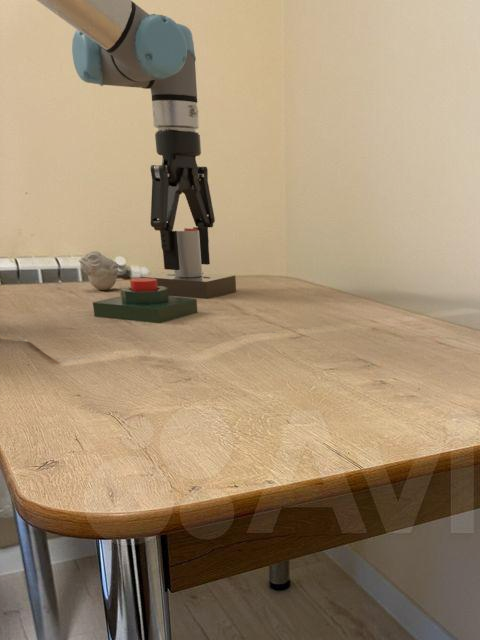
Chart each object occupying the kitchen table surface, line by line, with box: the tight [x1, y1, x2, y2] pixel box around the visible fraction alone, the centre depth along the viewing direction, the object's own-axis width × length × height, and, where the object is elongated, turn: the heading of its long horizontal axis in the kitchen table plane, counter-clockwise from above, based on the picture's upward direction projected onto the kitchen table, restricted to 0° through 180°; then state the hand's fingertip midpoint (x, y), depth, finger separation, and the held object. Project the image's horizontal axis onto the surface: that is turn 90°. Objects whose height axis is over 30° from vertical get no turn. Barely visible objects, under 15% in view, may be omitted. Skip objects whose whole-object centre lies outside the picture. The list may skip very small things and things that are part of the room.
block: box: [92, 285, 199, 324], centre depth 110 cm, size 12×10×4 cm
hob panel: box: [139, 270, 237, 300], centre depth 131 cm, size 14×10×3 cm
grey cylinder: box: [172, 227, 203, 278], centre depth 129 cm, size 5×5×8 cm
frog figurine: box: [78, 250, 119, 291], centre depth 131 cm, size 6×7×7 cm
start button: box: [129, 277, 158, 291], centre depth 109 cm, size 4×4×2 cm
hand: (187, 266), depth 130 cm, fingers open, 9 cm apart
